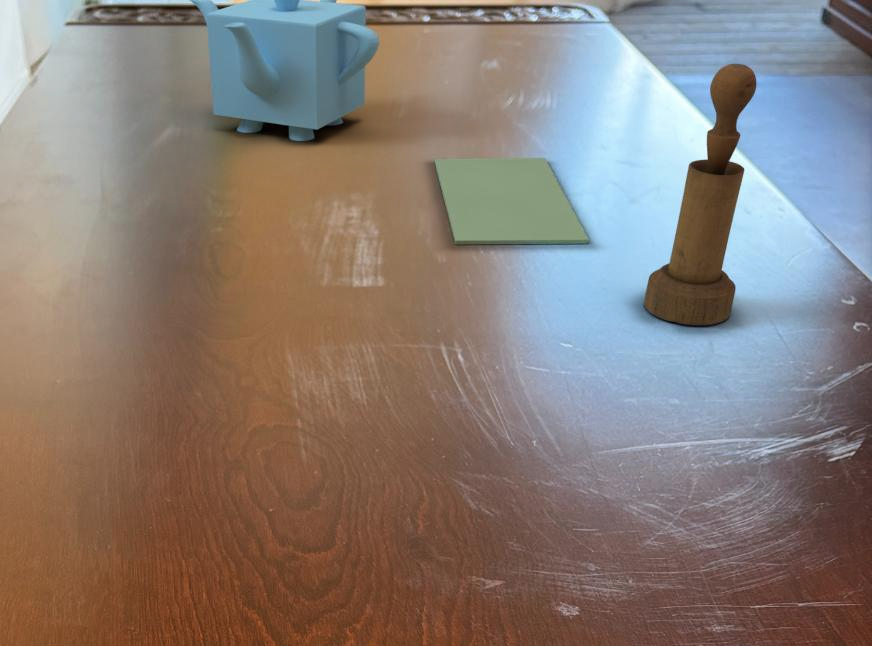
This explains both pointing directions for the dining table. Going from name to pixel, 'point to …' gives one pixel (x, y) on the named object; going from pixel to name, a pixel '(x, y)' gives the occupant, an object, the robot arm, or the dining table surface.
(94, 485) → the dining table surface
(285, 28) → the teakettle
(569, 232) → the mat
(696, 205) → the mortar and pestle
